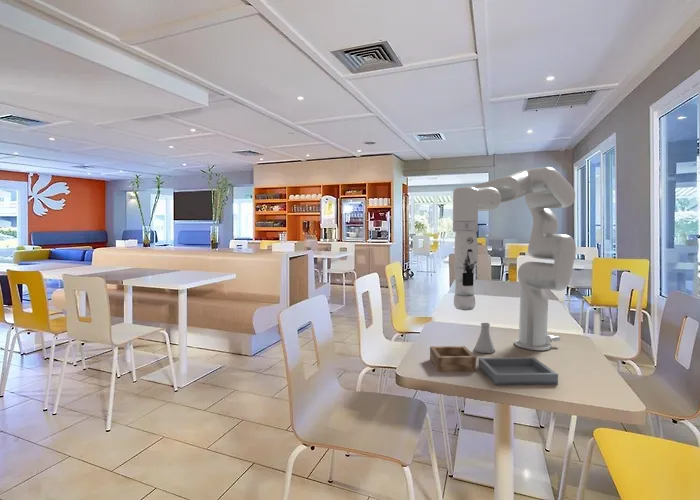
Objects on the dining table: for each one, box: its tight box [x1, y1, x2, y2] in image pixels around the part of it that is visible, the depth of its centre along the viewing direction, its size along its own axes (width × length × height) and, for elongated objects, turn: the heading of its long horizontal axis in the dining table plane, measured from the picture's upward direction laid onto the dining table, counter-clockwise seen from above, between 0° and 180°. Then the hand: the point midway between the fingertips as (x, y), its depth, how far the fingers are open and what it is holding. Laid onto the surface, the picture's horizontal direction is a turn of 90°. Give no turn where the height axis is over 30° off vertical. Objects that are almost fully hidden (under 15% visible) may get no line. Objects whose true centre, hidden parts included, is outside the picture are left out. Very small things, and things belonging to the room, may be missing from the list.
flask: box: [474, 322, 496, 354], centre depth 142 cm, size 7×7×10 cm
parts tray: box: [477, 356, 559, 386], centre depth 119 cm, size 18×14×3 cm
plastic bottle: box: [453, 257, 476, 312], centre depth 124 cm, size 6×7×20 cm
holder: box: [429, 345, 477, 373], centre depth 128 cm, size 12×11×4 cm
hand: (464, 283), depth 124 cm, fingers closed on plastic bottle, 6 cm apart
